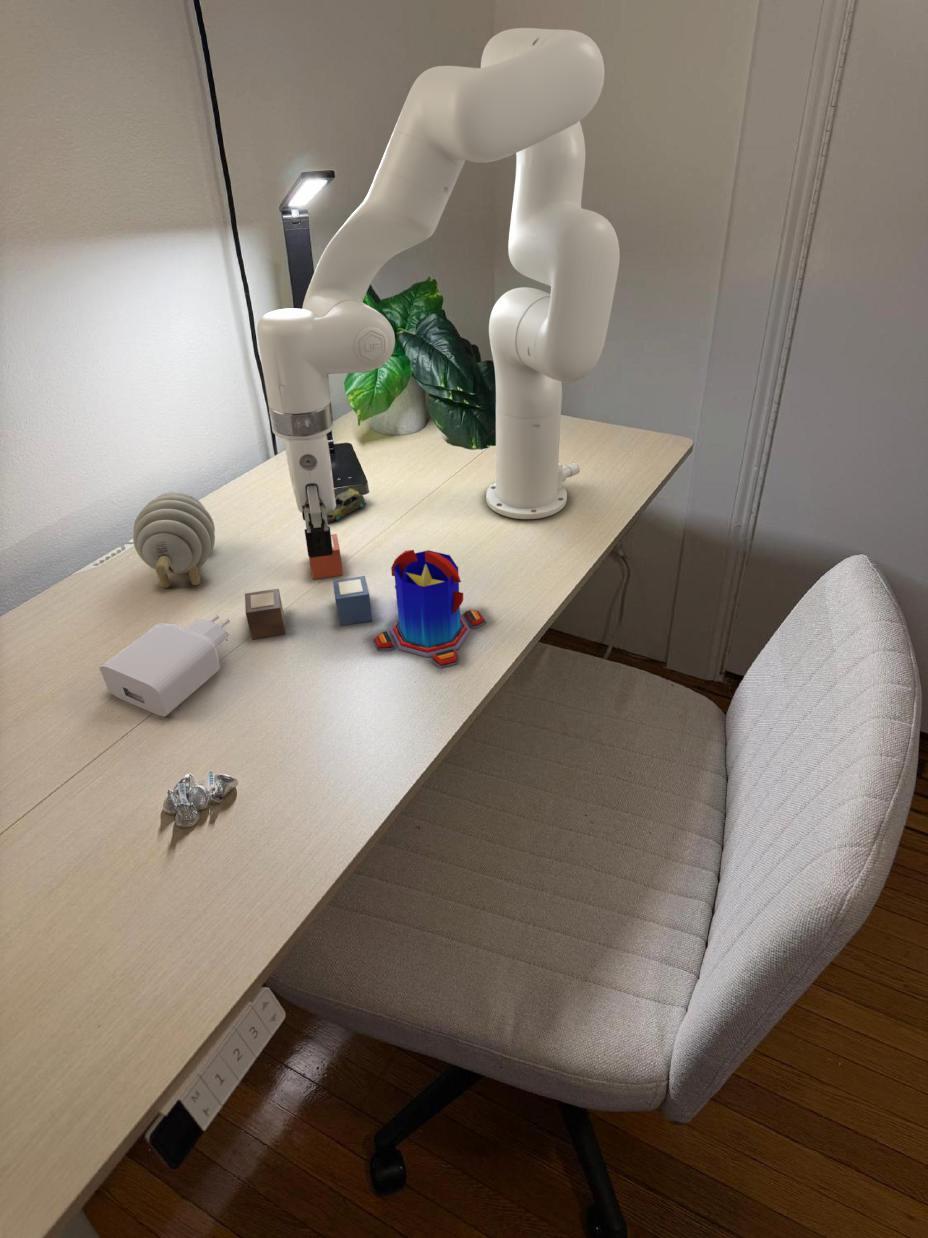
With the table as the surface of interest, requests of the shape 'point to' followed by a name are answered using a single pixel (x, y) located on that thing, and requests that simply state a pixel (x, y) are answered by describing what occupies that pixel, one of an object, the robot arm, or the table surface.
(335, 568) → the terracotta block
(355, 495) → the race car
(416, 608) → the fantasy tower
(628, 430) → the table surface
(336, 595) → the slate block
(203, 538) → the toy sheep
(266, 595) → the walnut block
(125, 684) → the charger
